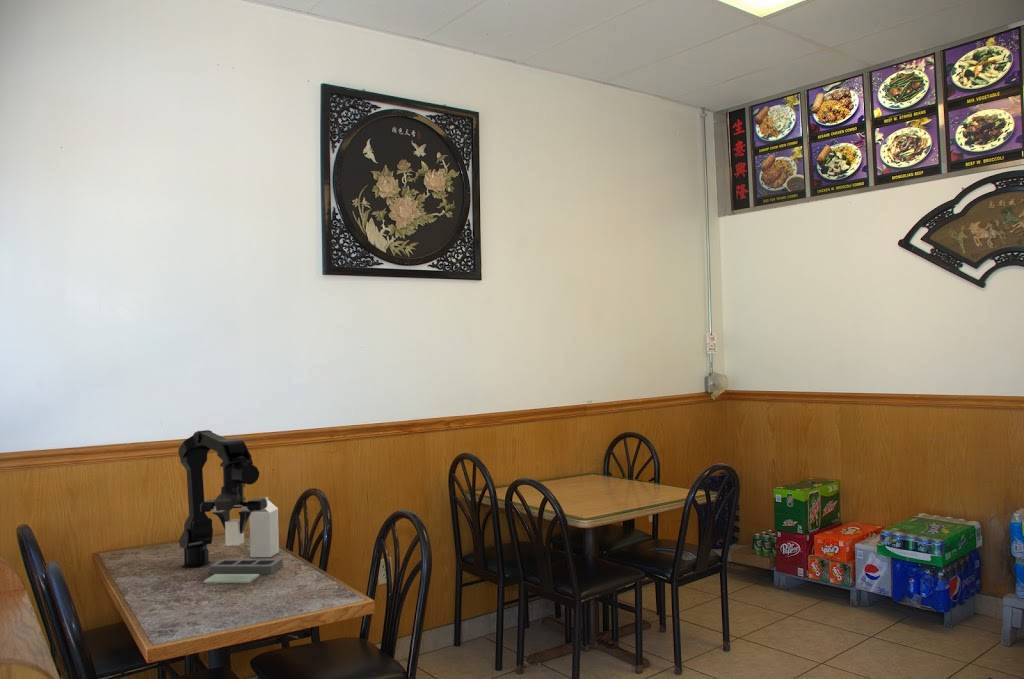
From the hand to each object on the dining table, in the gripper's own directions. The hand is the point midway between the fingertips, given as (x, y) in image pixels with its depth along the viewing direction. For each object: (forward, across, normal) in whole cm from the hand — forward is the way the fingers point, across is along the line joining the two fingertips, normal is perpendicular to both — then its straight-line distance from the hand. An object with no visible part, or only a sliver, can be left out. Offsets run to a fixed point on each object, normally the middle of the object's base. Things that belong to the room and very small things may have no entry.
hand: (234, 533), depth 234 cm
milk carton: (+13, -2, +27) cm, 30 cm away
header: (+13, 0, +8) cm, 16 cm away
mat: (+13, 0, -2) cm, 13 cm away
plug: (+3, 0, 0) cm, 3 cm away
